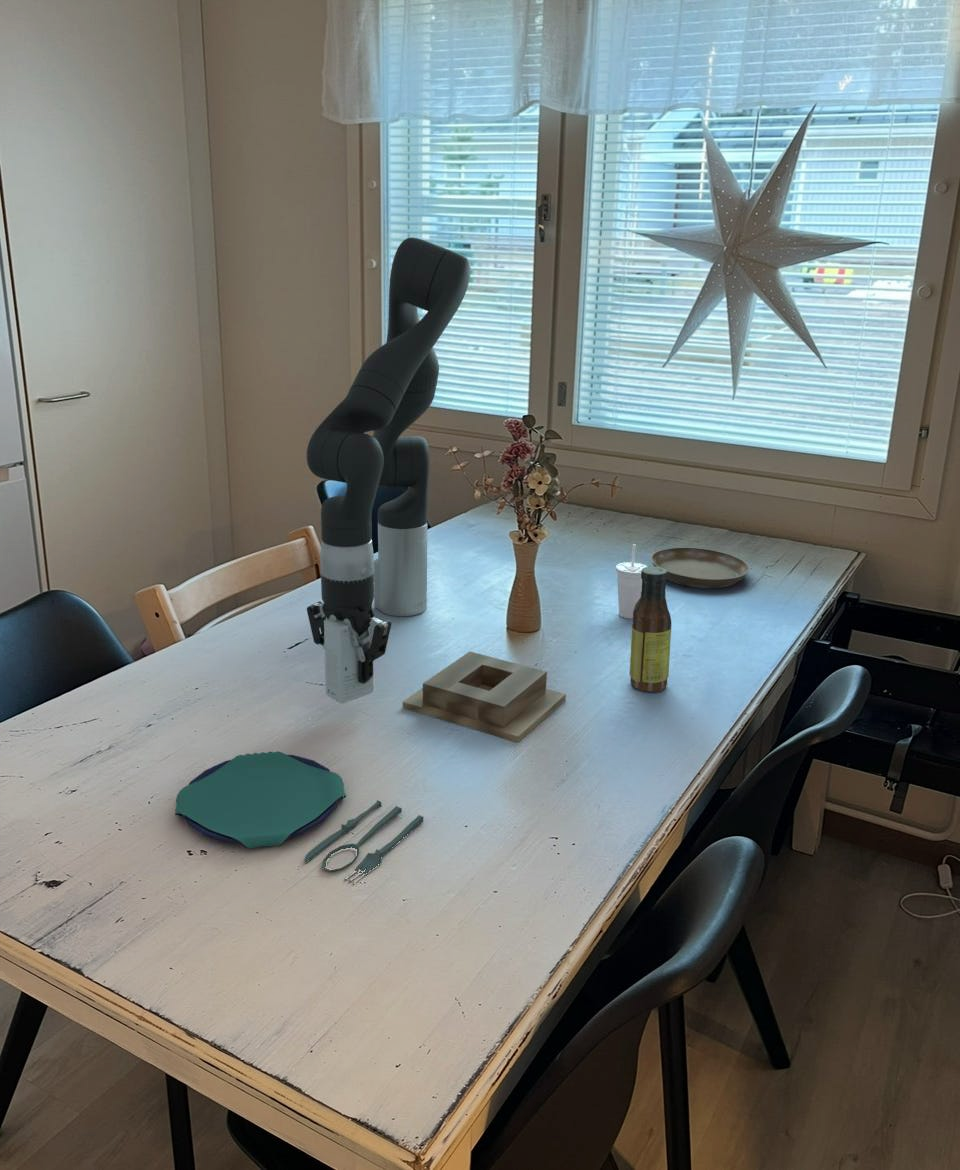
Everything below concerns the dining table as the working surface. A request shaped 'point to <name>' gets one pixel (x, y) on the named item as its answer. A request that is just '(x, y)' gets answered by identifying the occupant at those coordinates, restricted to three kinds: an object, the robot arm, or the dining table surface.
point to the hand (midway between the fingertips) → (349, 676)
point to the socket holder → (488, 696)
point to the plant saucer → (700, 567)
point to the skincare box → (342, 664)
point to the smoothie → (629, 585)
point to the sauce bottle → (651, 633)
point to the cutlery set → (274, 804)
